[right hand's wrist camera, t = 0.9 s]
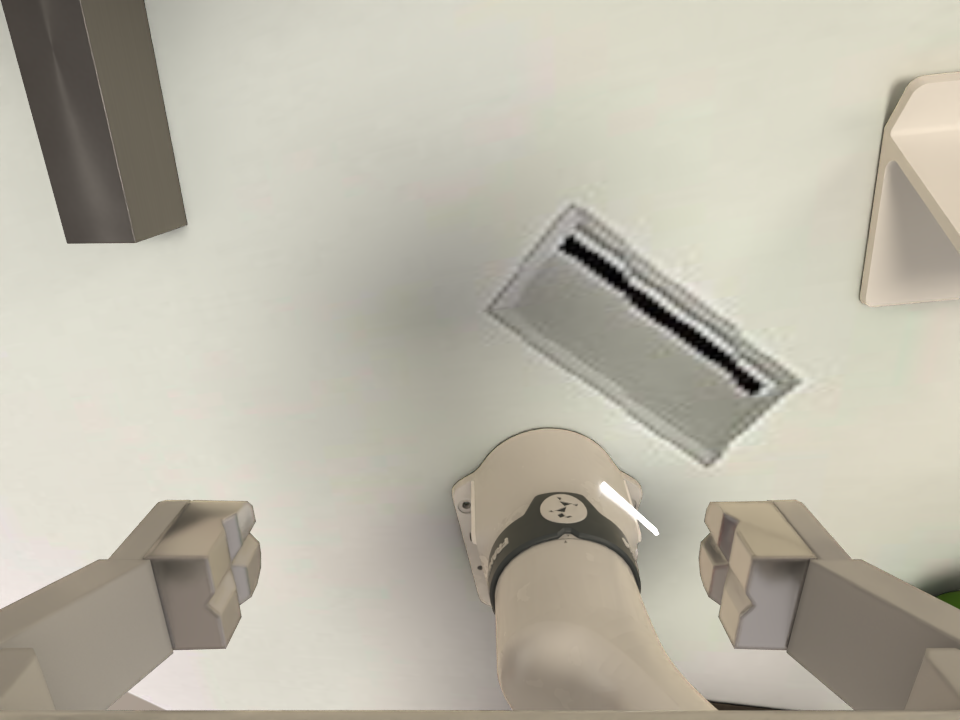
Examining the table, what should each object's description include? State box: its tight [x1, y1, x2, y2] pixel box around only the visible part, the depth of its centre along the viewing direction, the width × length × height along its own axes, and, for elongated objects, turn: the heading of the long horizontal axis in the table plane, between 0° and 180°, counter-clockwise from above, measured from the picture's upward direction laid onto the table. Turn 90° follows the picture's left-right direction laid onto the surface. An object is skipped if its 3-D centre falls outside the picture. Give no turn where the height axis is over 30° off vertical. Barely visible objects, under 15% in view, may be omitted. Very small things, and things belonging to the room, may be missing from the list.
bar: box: [1, 0, 187, 244], centre depth 41 cm, size 25×5×8 cm, turn 1°
